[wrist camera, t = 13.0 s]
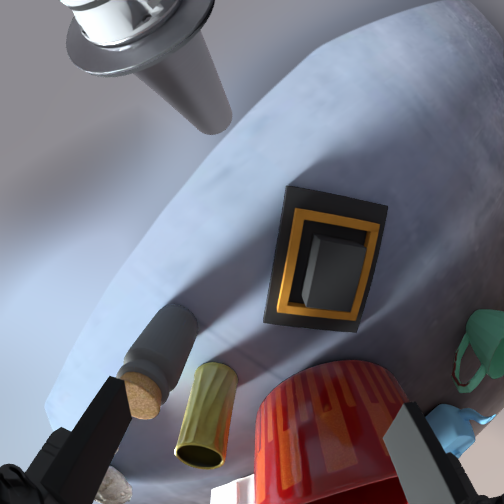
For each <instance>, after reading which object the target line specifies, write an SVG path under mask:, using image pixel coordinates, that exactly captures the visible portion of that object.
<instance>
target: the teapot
mask: <svg viewBox="0 0 504 504" xmlns="http://www.w3.org/2000/svg"><path fill="white" fill-rule="evenodd" d="M495 416H496V415H493V416H490V417H484V416H482V415H480V414H479V413H478V412H477V411H475V410H473V409H471V408H464V409H461V410H460V409H459V408H457V407H454V406H452V405H448V404H440V405H438V406H437V407H436V408H435V409H433V410H432V411H431V412H430V413H429V414H428V415H427V416H426V417H425V418H426V420H427V421H428V423H429V425H430V426H431V428H432V430H433V432H434V433H435V435H436V437H437V438H438V440H439V442H440V444H441V445H442V447H443V449H444V451H445V453H448V452H451V453H452V454H454V455H455V456H456V457H457V458H459V457H460V456H461V455H462V453H464V452H465V451H466V450H467V449H468V448H469V447H470V446H471V445H472V444H473V443H474V442H475V435H474V432H473V429H472V426H471V424H470V422H469V420H475V421H476V422H478V423H480V424H486V423H488V422H489V421H491V420H492V419H493V418H494V417H495Z"/></svg>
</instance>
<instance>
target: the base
mask: <svg viewBox="0 0 504 504" xmlns="http://www.w3.org/2000/svg"><path fill="white" fill-rule="evenodd" d="M387 210H388V206H385V205H381V204H377V203H372V202H368V201H364V200H359V199H355V198H350V197H345V196H341V195H336V194H331V193H326V192H321V191H316V190H310V189H305V188H299V187H294V186H286V190H285V196H284V202H283V208H282V214H281V221H280V227H279V233H278V238H277V244H276V250H275V256H274V262H273V268H272V273H271V279H270V284H269V290H268V296H267V301H266V307H265V312H264V317H263V323H267V324H275V325H283V326H291V327H300V328H310V329H319V330H330V331H341V332H354V333H357V330H358V327H359V324H360V320H361V317H362V314H363V311H364V307H365V304H366V300H367V297H368V293H369V290H370V286H371V282H372V279H373V275H374V271H375V267H376V263H377V259H378V254H379V250H380V245H381V241H382V236H383V231H384V226H385V221H386V216H387ZM313 233H315V234H321V235H326V236H332V237H338V238H344V239H349V240H354V241H356V242H358V243H359V244H361V245H363V246H364V247H366V248H367V250H366V254H365V259H364V263H363V267H362V271H361V275H360V279H359V283H358V287H357V291H356V295H355V298H354V302H353V305H352V309H351V312H344V311H335V310H326V309H317V308H309V307H306V306H305V303H304V301H303V298H302V295H301V289H302V284H303V279H304V275H305V270H306V265H307V260H308V255H309V250H310V245H311V239H312V234H313Z"/></svg>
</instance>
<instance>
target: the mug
mask: <svg viewBox="0 0 504 504" xmlns="http://www.w3.org/2000/svg"><path fill="white" fill-rule="evenodd" d="M469 342H470V344H471V346H472V348H473V350H474V353H475V354H476V356H477V357H478V359H479V360H480V362H481V364H482V365H481V366H480V368H479V369H478V371H477V372H476V374H475V375H474V376H473V378H472V379H470V380H469V381H468V382H467V383H466V384H462V383H461V382H460V381H459V370H460V361H461V358H462V356H463V354H464V352H465V350H466V348H467V346H468V344H469ZM486 373H487V374H488V375H489V377H490V378H491V379H497V378H499V377H502V376H503V375H504V312H503V311H498V310H490V309H479V310H476V311H475V312H474V313H473V314H472V315H471V316H470V318H469V319H468V321H467V324H466V333H465V335H464V337H463V339H462V341H461V343H460V345H459V347H458V349H457V351H456V352H455V357H454V363H453V369H452V374H451V378H452V380H453V381H454V383H455V385H456V387H457V389H458V391H459V393H470V392H471V391H473V390H474V389H475V388H476V387H477V386H478V384H479V383H480V382H481V380H482V379H483V378H484V376H485V375H486Z"/></svg>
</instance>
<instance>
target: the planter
mask: <svg viewBox="0 0 504 504" xmlns="http://www.w3.org/2000/svg"><path fill="white" fill-rule="evenodd" d="M408 402H410V400H409V399H408V397H407V396H406V394H405V392H404V391H403V389H402V388H401V386H400V384H399V383H398V381H397V380H396V378H395V377H394V375H393V374H392V373H391V372H390V371H388V370H387V369H386V368H384V367H382V366H380V365H378V364H375V363H372V362H369V361H362V360H341V361H332V362H328V363H324V364H320V365H317V366H314V367H311V368H308V369H305V370H303V371H301V372H299V373H297V374H295V375H293V376H291V377H290V378H288V379H286V380H285V381H283V382H282V383H280V384H279V385H278V386H277V387H275V388H274V389H273V390H272V391H271V392H270V393H269V394H268V395H267V396H266V398H265V399H264V401H263V402H262V404H261V405H260V407H259V410H258V412H257V417H256V426H255V461H254V500H253V504H408V501H407V499H406V496H405V493H404V491H403V488H402V485H401V483H400V480H399V477H398V475H397V472H396V470H395V467H394V465H393V462H392V460H391V457H390V455H389V452H388V450H387V447H386V445H385V442H384V440H383V437H384V435H385V434H386V432H387V430H388V429H389V427H390V426H391V424H392V422H393V421H394V419H395V417H396V416H397V414H398V412H399V410H400V409H401V407H402V405H403V403H408Z"/></svg>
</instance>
